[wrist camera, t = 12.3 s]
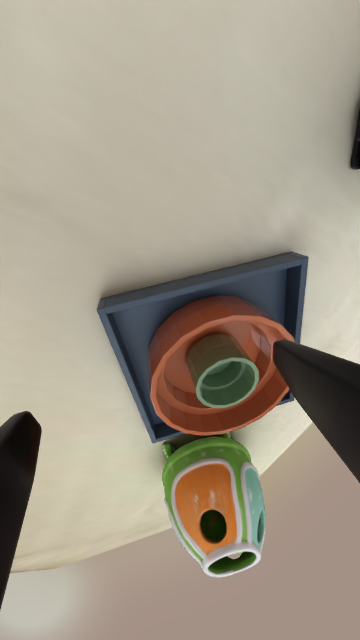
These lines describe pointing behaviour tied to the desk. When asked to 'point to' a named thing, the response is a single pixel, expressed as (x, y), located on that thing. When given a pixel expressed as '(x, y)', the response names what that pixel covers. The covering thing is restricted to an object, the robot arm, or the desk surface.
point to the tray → (163, 299)
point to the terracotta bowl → (173, 377)
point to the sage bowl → (221, 371)
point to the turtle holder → (215, 503)
